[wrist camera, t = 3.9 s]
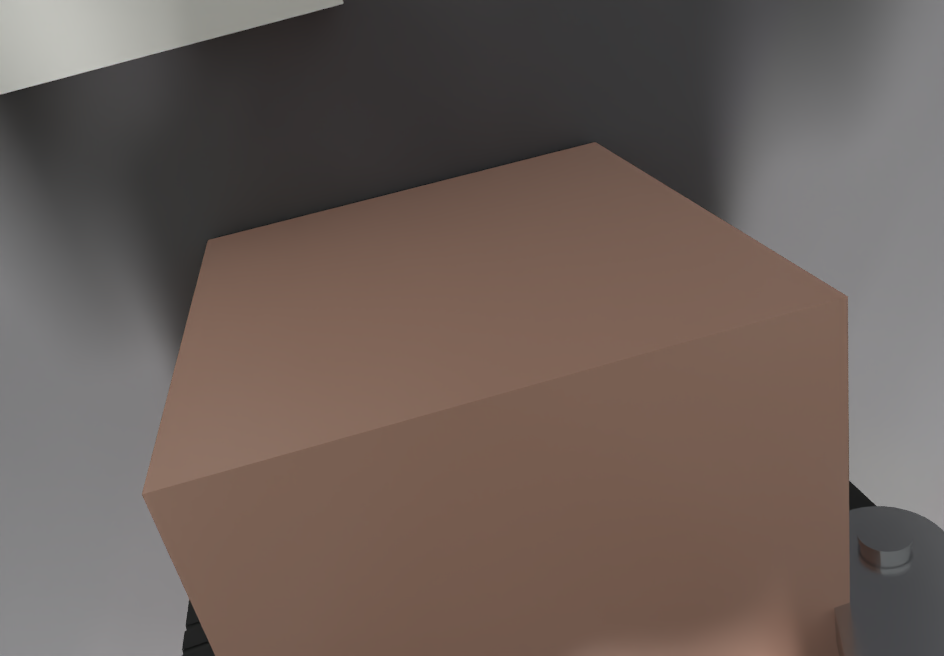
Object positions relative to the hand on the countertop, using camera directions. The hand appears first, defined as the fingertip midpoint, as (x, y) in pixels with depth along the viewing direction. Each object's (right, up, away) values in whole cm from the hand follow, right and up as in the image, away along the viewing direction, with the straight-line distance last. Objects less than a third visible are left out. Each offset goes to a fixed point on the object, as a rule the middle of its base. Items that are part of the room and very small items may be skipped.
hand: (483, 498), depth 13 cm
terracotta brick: (0, +1, +1) cm, 1 cm away
